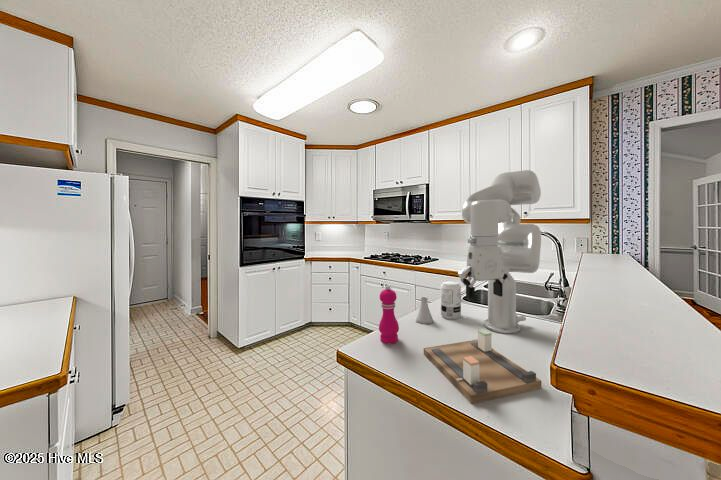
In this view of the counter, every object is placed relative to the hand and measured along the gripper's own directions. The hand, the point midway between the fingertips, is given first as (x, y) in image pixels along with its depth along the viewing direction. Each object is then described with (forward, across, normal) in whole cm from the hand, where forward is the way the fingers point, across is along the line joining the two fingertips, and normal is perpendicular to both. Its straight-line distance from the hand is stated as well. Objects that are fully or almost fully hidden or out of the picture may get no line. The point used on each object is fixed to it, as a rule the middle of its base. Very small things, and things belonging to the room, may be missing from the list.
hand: (484, 297), depth 82 cm
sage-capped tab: (+16, -1, -1) cm, 16 cm away
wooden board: (+18, -8, -6) cm, 21 cm away
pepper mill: (+19, -24, +19) cm, 36 cm away
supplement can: (+19, +9, +32) cm, 38 cm away
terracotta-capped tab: (+16, -15, -14) cm, 25 cm away
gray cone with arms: (+19, -4, +31) cm, 37 cm away
